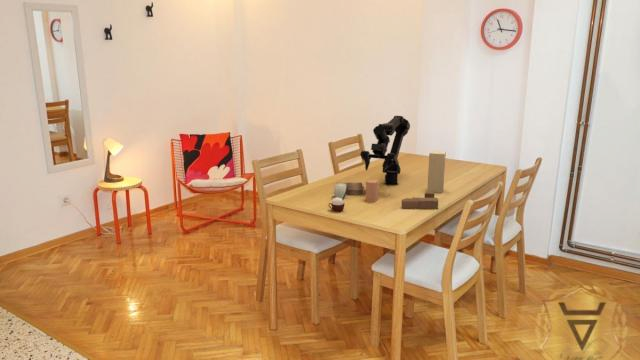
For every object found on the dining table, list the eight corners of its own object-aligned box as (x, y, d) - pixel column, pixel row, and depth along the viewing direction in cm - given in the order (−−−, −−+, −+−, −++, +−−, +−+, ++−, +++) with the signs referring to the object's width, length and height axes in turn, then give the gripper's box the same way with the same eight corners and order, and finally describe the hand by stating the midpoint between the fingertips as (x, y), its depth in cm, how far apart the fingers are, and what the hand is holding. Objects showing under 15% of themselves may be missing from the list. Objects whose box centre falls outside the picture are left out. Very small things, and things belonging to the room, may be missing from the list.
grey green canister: (346, 195, 272) (346, 182, 271) (346, 199, 267) (346, 186, 265) (334, 195, 273) (334, 182, 271) (334, 199, 267) (334, 186, 265)
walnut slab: (362, 187, 287) (362, 182, 286) (363, 195, 273) (363, 189, 272) (336, 187, 287) (336, 182, 286) (336, 195, 274) (336, 189, 273)
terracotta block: (368, 198, 267) (369, 179, 265) (378, 199, 266) (378, 180, 263) (365, 201, 263) (366, 182, 260) (375, 202, 261) (375, 183, 259)
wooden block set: (440, 198, 248) (402, 198, 249) (439, 210, 250) (401, 209, 251) (435, 188, 265) (399, 188, 266) (434, 199, 266) (398, 199, 267)
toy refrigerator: (444, 189, 282) (446, 151, 276) (442, 193, 275) (444, 154, 269) (429, 188, 284) (430, 150, 279) (427, 192, 277) (428, 153, 272)
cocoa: (327, 211, 249) (325, 187, 246) (333, 207, 254) (332, 183, 251) (344, 213, 244) (343, 189, 241) (351, 209, 250) (349, 185, 246)
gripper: (361, 135, 272) (353, 161, 266) (395, 138, 264) (387, 164, 258) (367, 146, 281) (359, 172, 275) (400, 149, 273) (393, 175, 267)
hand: (374, 171), depth 269 cm, fingers open, 9 cm apart
